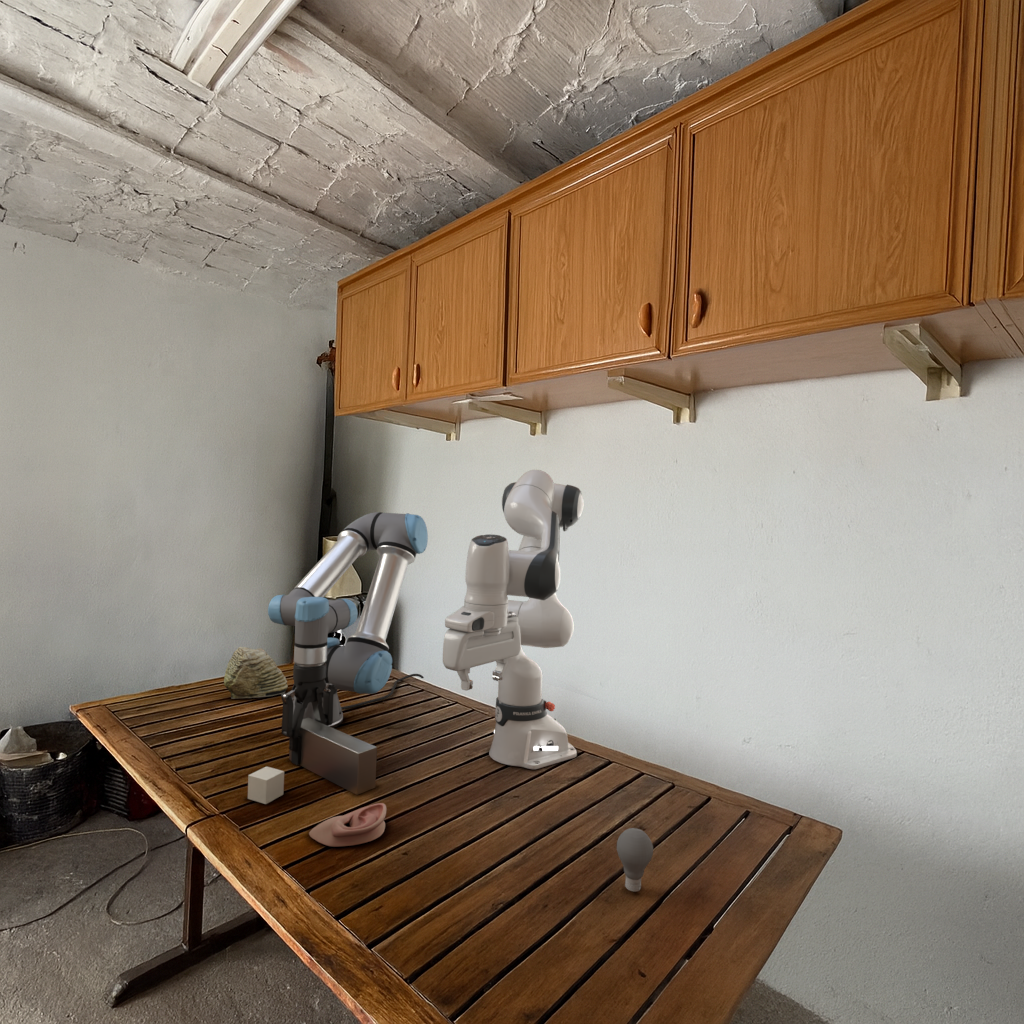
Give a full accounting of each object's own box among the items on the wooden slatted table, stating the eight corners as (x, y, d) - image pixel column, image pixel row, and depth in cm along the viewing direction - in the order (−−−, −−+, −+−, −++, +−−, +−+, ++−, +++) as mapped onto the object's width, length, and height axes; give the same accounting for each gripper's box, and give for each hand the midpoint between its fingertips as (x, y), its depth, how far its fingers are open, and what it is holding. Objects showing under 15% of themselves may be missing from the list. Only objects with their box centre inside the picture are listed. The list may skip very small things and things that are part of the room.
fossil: (219, 695, 195) (221, 647, 195) (279, 686, 207) (281, 640, 207) (229, 703, 188) (231, 653, 188) (290, 693, 201) (292, 646, 200)
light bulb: (610, 878, 109) (613, 821, 108) (645, 878, 109) (647, 821, 109) (619, 901, 103) (622, 840, 103) (655, 900, 103) (658, 839, 103)
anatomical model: (301, 820, 116) (331, 792, 127) (300, 842, 116) (330, 812, 127) (368, 831, 113) (393, 801, 124) (368, 853, 113) (392, 821, 124)
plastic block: (265, 789, 136) (266, 766, 136) (283, 794, 134) (284, 771, 134) (247, 798, 131) (248, 775, 131) (265, 804, 129) (266, 780, 129)
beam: (307, 753, 155) (308, 717, 155) (375, 787, 139) (377, 746, 139) (288, 759, 151) (290, 722, 151) (357, 795, 135) (358, 753, 135)
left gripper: (332, 653, 160) (329, 745, 161) (266, 666, 146) (262, 766, 146) (351, 659, 155) (347, 753, 156) (284, 673, 141) (280, 776, 142)
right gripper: (506, 608, 137) (503, 671, 137) (438, 619, 121) (435, 691, 121) (529, 612, 133) (526, 677, 133) (462, 624, 117) (459, 699, 118)
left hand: (306, 759), depth 151 cm, fingers closed on beam, 5 cm apart
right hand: (482, 684), depth 127 cm, fingers open, 8 cm apart
